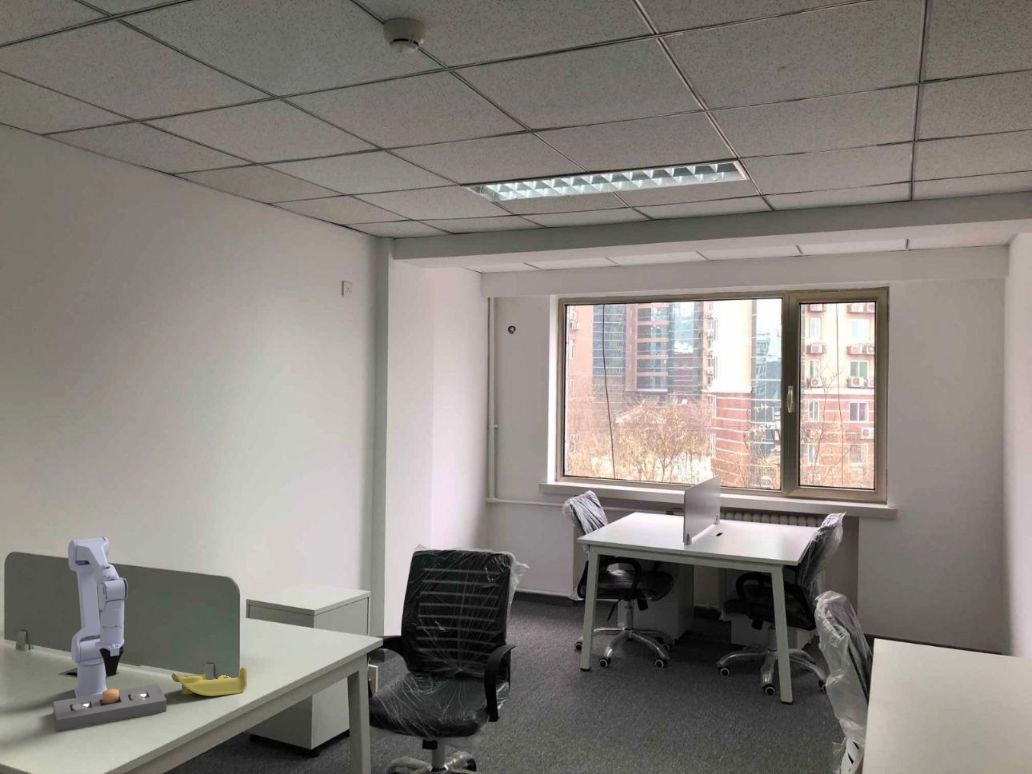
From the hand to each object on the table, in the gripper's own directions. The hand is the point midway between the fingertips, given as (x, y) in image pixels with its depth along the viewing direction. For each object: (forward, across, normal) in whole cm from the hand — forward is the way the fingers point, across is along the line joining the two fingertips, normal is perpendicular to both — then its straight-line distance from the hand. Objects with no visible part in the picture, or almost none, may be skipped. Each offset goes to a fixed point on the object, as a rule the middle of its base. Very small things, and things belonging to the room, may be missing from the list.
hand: (110, 675), depth 216 cm
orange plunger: (+7, 0, 0) cm, 7 cm away
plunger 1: (+9, 0, -7) cm, 11 cm away
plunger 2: (+9, 0, +7) cm, 11 cm away
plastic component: (+10, -3, +26) cm, 28 cm away
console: (+10, 0, 0) cm, 10 cm away
